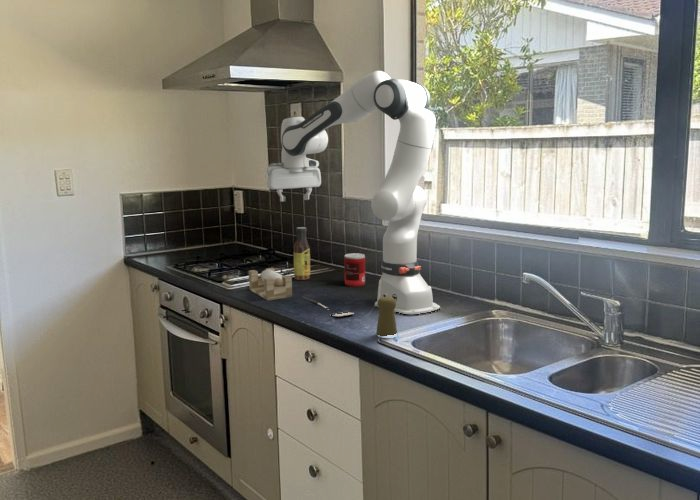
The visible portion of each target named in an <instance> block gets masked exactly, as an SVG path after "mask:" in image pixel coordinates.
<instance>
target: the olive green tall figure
mask: <svg viewBox="0 0 700 500" xmlns="http://www.w3.org/2000/svg"><path fill="white" fill-rule="evenodd" d="M395 307H396V300H395V299H394V298H392V297H381V298H379V300H378V307H377V308H378V318H377V325H376V334H377V335H380V336H387V335H394V334H396V333H397V334H398V330H397V321H396V315H395V314H396V312H394V309H395Z"/></svg>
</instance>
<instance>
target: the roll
mask: <svg viewBox="0 0 700 500" xmlns="http://www.w3.org/2000/svg"><path fill="white" fill-rule="evenodd" d="M282 276H283V275H282V274H280V273H278V272H276V271H275V272H274V271H272V270H270V269H267V268H265V269H264V270H262V271H261V273H260V277H261V279H262V281H263V282H264V279H265V278H271V279H273V280H274V286H277V285H278V286H281V287H282V286H284V284H285V281H284V280H282Z"/></svg>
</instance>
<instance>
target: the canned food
mask: <svg viewBox="0 0 700 500" xmlns="http://www.w3.org/2000/svg"><path fill="white" fill-rule="evenodd" d="M343 259H344V260H343V261H344V262H343V263H344V264H343V266H344V267H343V268H344V284H345V286H348V287H352V288H353V287H355V288H357V287H362V286H364V285H365V284H366V256H365V254H364V253H359V252H357V253H355V252H353V253H346V254H345V255H344V257H343Z"/></svg>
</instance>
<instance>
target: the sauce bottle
mask: <svg viewBox="0 0 700 500" xmlns="http://www.w3.org/2000/svg"><path fill="white" fill-rule="evenodd" d="M307 229H308V228H307V227H304V226H301V227H299V226H298V227H296V228H295V232H296V240H295V242H294V244H293V275H294V280H296V281H307V280H310V278H311V248H310V247H311V246H310V245H309V242H308V239H307V232H308V230H307Z"/></svg>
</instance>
